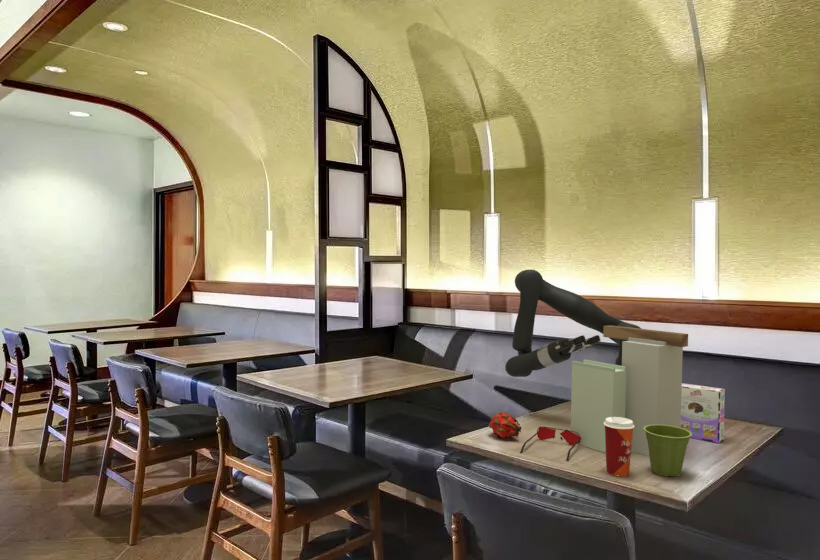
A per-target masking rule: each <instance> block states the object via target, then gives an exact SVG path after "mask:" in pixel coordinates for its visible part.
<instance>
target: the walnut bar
mask: <svg viewBox="0 0 820 560" xmlns="http://www.w3.org/2000/svg"><path fill="white" fill-rule="evenodd" d="M602 337H604V338H609V339H610V338H616V339H623V340H628V338H629V337H631V338H639V339H647V340H655V341H663V342H667V345H669V346H676V347H683V348H685V347H689V334H688V333H681V332H673V331H663V330H655V329H647V328H641V329H639V328H630V327H621V326H612V325H608V326H604V329H603V334H602Z"/></svg>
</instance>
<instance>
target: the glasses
mask: <svg viewBox="0 0 820 560" xmlns="http://www.w3.org/2000/svg"><path fill="white" fill-rule="evenodd" d="M556 430H560V431H562V432H559V435H560V436H559V437H560V440H561V441H563V439H564V441H566V443H567V444H568V445H569V446H571V447H570V448H569V450H568V452H567V456H566V460H565V461H566V462H567V461H568V462H569V459H570V454H571V452H572V450H573V449H574V448H575V447H576V445H579V444H578V443H580V440H581V437H580V436H578V435H579V434H578V433H577V432H575V433H577V434H578V435H576V434H574V433H572V432H574V431H571V429H570V430H568V429H562V428H561V429H560V428H555V427H549V426H538V428H537V430H536V433H534V435H532V436H531V437H529V438H528V439H527V440H526V441H525V442H524V443H523V444H522V448H521V449H520V451H519V454H523V452H524V449H525V446H526V444H528V442H530V441H531V440H532V439H533V438H534V437H536V436H537V437H536V438H537V439H539V441H545V440H549V439H553V440H554V439H555V438H556ZM572 445H573V446H572Z"/></svg>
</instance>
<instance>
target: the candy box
mask: <svg viewBox="0 0 820 560" xmlns="http://www.w3.org/2000/svg"><path fill="white" fill-rule="evenodd" d="M725 392H726V389H725V388H720V387H715V386H714V387H713V386H712V387H711V386H706V385H705V386H704V385H699V384H693V383H692V384H690V383H683V382H682V394H681V428H683V429H686V430H688V431H690V432H691V433H692V436H691V437H690V438H689V439H695V440H700V441H706V442H710V443H717V444H720V443H721V442H722V440H723V441H724V439H725V402H726V401H725V400H726V399H725V397H726V393H725Z"/></svg>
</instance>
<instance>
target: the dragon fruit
mask: <svg viewBox="0 0 820 560" xmlns="http://www.w3.org/2000/svg"><path fill="white" fill-rule="evenodd" d="M488 428H490V429H491V430H492V433H493V436H494V437H500V438H502V439H504V440H505V441H512V440H513V439H512V438H511V437H516V438H517V437H519V435H520V433H522V431H521V430H522V426H521V424H520V423H519V421H518V420H517V418H516V417H513V416H512V415H511V414H510V413H508V412H503V411H500V412H496V413H495V414H494V415H493V416H492V417H491V418H490V421H489V424H488Z"/></svg>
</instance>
